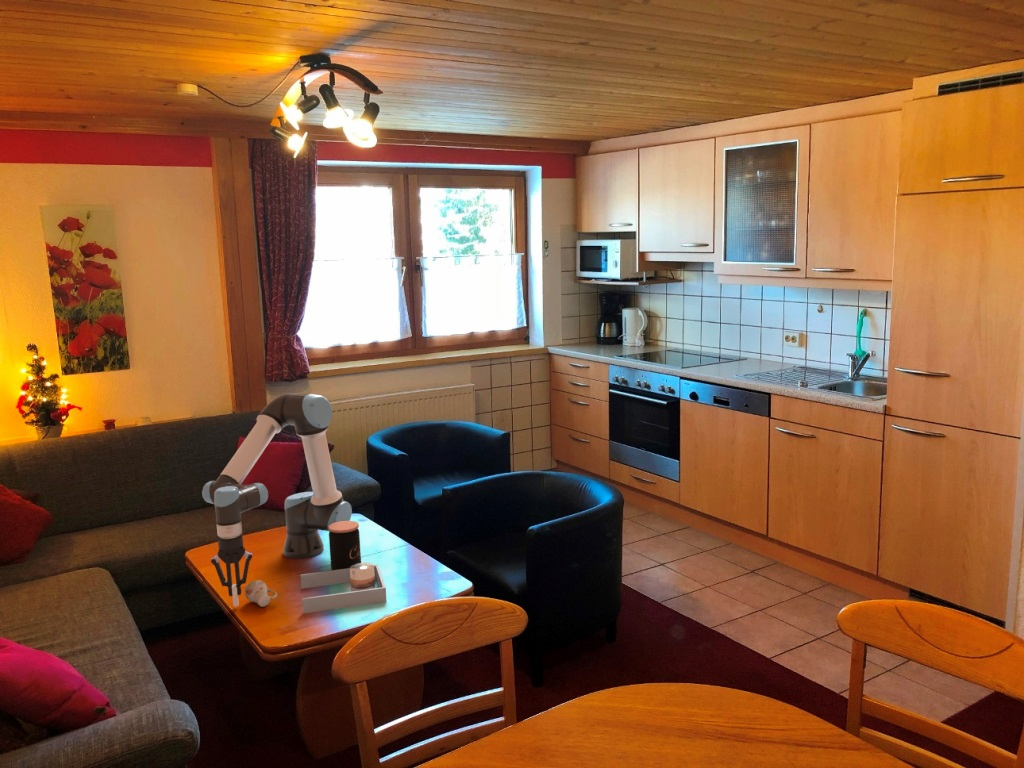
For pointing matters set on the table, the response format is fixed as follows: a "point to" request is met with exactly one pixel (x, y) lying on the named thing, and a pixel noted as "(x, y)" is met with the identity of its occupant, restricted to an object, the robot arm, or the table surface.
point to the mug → (259, 593)
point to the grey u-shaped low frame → (341, 598)
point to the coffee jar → (344, 544)
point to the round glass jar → (362, 576)
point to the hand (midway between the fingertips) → (236, 604)
